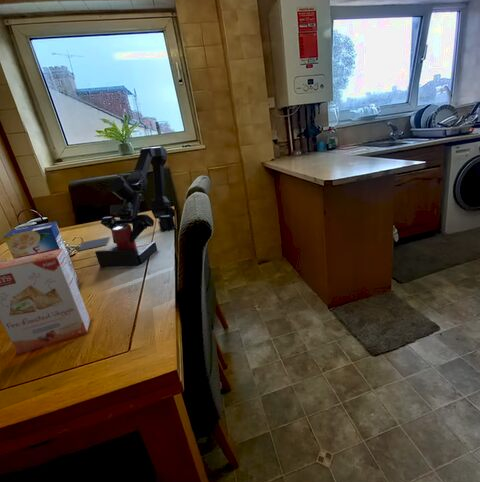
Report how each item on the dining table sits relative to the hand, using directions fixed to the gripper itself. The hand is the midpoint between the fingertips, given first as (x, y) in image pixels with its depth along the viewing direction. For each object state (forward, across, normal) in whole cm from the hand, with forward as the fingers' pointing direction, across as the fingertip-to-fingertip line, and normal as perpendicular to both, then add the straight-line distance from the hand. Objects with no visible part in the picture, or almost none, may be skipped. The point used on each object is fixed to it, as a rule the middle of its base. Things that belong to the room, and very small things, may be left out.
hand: (123, 242), depth 102 cm
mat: (-8, -29, +19) cm, 36 cm away
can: (+4, 0, +6) cm, 7 cm away
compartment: (+4, 0, +6) cm, 8 cm away
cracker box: (+34, +6, -23) cm, 41 cm away
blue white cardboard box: (+21, -11, -10) cm, 25 cm away
